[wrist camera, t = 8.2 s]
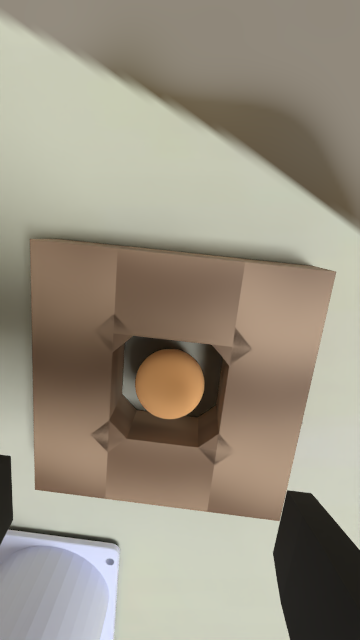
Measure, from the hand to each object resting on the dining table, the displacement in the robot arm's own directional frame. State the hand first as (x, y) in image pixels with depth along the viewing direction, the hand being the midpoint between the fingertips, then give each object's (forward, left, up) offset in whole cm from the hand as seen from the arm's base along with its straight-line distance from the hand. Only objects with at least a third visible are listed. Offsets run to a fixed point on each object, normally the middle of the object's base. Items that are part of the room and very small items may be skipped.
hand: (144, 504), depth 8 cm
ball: (0, 0, -7) cm, 7 cm away
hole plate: (0, 0, -8) cm, 8 cm away
